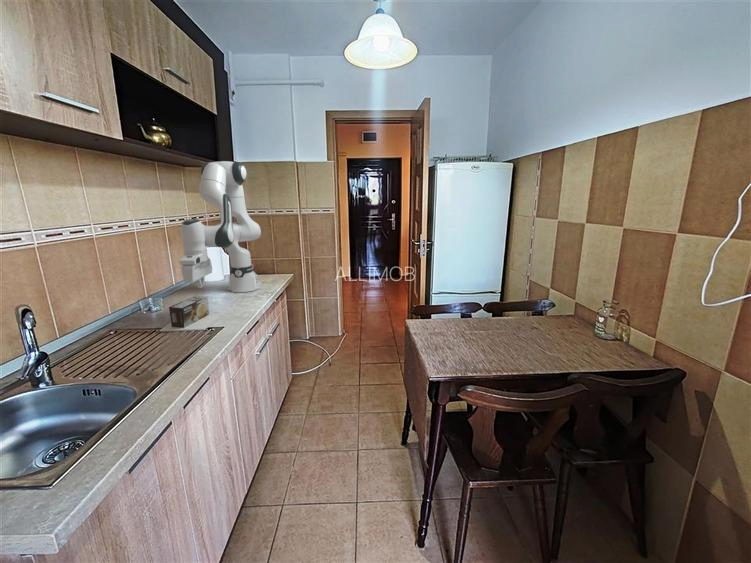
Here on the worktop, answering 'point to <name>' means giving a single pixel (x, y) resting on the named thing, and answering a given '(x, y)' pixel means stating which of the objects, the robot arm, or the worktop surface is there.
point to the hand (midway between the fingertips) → (201, 287)
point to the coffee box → (189, 311)
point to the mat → (194, 325)
